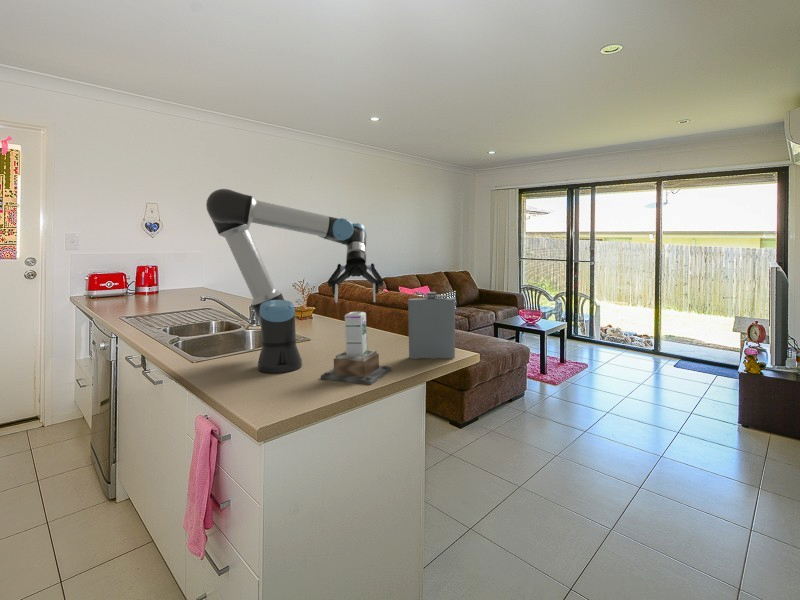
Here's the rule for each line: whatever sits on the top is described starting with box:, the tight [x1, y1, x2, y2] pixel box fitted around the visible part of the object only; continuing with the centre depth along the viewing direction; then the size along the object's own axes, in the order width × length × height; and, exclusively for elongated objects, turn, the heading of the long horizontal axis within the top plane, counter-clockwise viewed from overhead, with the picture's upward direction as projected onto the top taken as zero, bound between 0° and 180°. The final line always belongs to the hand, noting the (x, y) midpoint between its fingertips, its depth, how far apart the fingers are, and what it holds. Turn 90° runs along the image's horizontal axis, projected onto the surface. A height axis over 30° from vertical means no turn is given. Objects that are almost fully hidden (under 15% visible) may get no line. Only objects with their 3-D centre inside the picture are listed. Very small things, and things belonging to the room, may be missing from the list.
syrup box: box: [344, 311, 368, 357], centre depth 140 cm, size 6×6×14 cm
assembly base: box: [320, 349, 392, 385], centre depth 141 cm, size 18×16×7 cm
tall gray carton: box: [407, 291, 456, 360], centre depth 161 cm, size 17×5×25 cm, turn 88°
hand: (355, 300), depth 151 cm, fingers open, 13 cm apart
